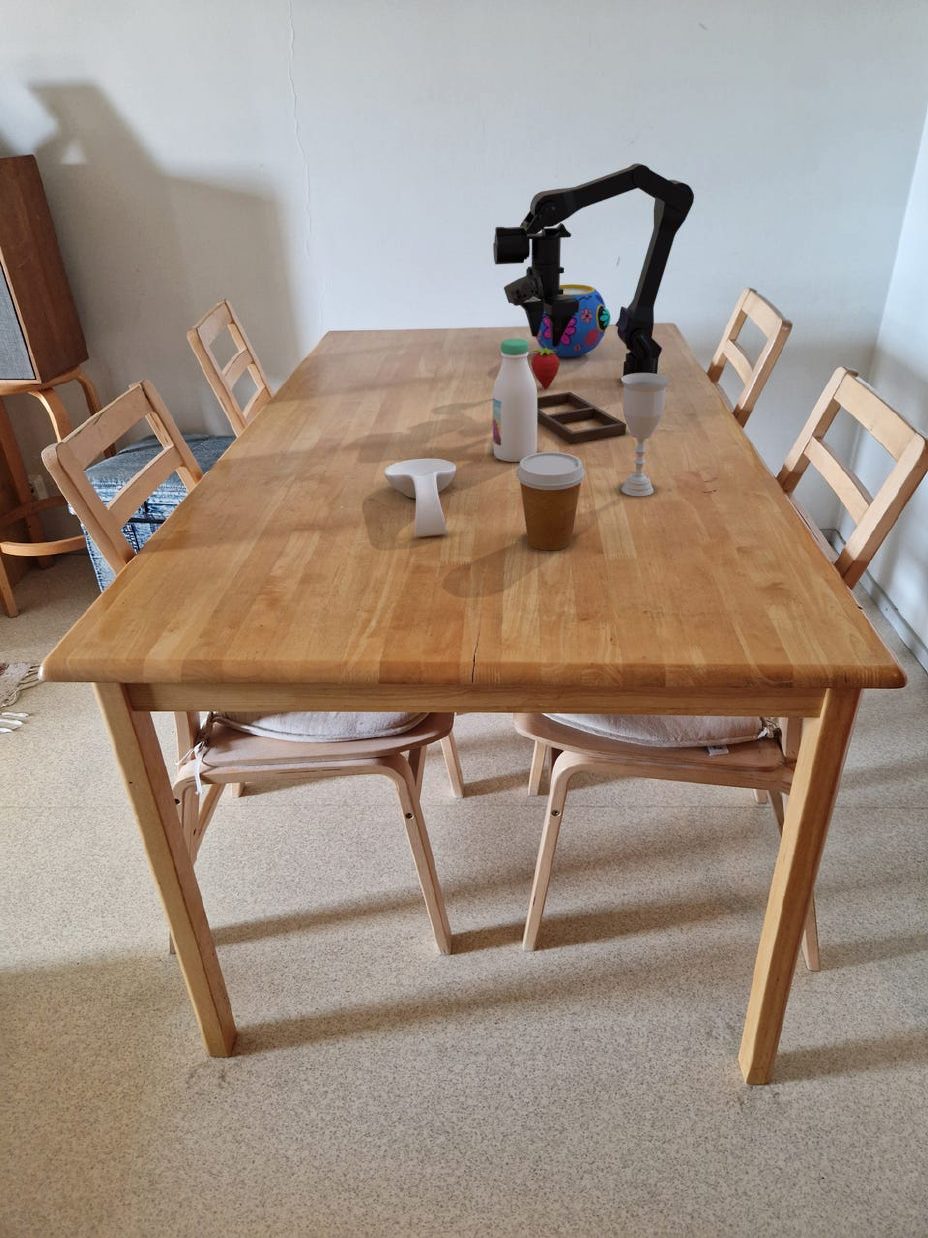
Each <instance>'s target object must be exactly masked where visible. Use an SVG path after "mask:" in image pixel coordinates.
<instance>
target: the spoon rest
mask: <svg viewBox="0 0 928 1238" xmlns="http://www.w3.org/2000/svg"><path fill="white" fill-rule="evenodd" d="M456 472H457V465H456V464H455V463H453V462H451V461H449V460H446V459H441V458H418V459H417V458H416V459H408V460H403V461H399V462H396V463H393V464H390V465H389V466H387V467H386V468H385V469H384V471H383V474H384V475H383V476H384V477H385V479H386V480H387V482H388V483H389V484H390V485H391V486H392V487H393V488H394V489H395V490H397V491H399V492H400V493H402V494H403V495H404V496H406V497H407V498H410V499H415V514H414V515H415V516H414V535H415V536H416V537H425V536H437V535H438V536H439V535H444V534H446V533H447V525H446V520H445V515H444V512H443V509H442V504H441V500H440V496H439V493H440V492H442V491H443V490H445V488H447V487H448V486H449V485H450V484H451V482H452V480H453V479H454V477H455V474H456Z"/></svg>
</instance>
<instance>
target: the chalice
mask: <svg viewBox="0 0 928 1238" xmlns="http://www.w3.org/2000/svg"><path fill="white" fill-rule="evenodd" d="M620 379H621V380H620V381H621V383H622V386H623V403H622V412H623V416H624V420H625V424H626V426H627V428H628V429H629V432H630V434H631V436H632V438H634V439H636V440H637V445H636V448H635V449H634V451H635V453H636V457H635V459H634V460H633V463H634V465H635V470H634V471H633V473H631V474H630V475H629V476H627V478H626V481H625V482H624V485H623V486H622V487H621V492H622V493H623V494H625V495H628V496H632V497H646V496H650V495H652V494H653V493H654V488H653V486H652V483H651V478H649V476H648V475H647V474H645V473H644V472H643V466H644V465H645V463H646V460H645V459H644V455H645V452H646V451H647V450H646V448H645V441H646V439H649V438H651V437H652V435H653V434H654V432H655V430H656V429H657V428H658V425H660V423H661V422H660V421H661V419H662V417H663V415H664V413H665V401H666V391H667V390H666V389H667V387H668V385H669V383H670V382H671V379H670V378H669V377H668V376H666V375H663V374H658V373H657V374H653V373H634V374H628V375H625V376H623V375H622V376H621V377H620Z"/></svg>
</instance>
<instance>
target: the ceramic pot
mask: <svg viewBox="0 0 928 1238" xmlns="http://www.w3.org/2000/svg"><path fill="white" fill-rule="evenodd" d="M560 288H561V289H564V290H563V295H570V296H572V297H575V298H576V299H577V300H578V301H579V302H580V305H579V312H578V313H576V315H575V316H573V317H572V319H571V321H570V322H569V324H568V326H567V328H566V330H565V332H564V334H563V336H562V338H561V340H560V342H559V344H558V346H556V347H553V346H552V342H551V333H550V322H549V320H548V319H547V318H546V317H545V316H544V314H545V310H544V314H543V318H542V322H541V326H540V330H539V333H538V336H536V337H535V340H536V341H537V343H538V345H539V346H540V348H542V350H543V349H545V348H547V349H549V350H556V351H553V352H555V353H553V354H555V355H556V356H557V357H561V358H575V357H579V356H583V355H585V354H588V353H590V352H592V351H593V350H595V349H596V348H597V347H598V345H599V344H600V342H601V341H602V339H603V338H604V336H605V334H606V333H605V332H606V329H607V328H608V327H609V325H610V322H611V313H610V311H609V309H607V307H606V303H605V301H604V299H603V297H602V295H601V293H600V292H599V291H598V290H597V289H596V288H595V287H593V286H591V285H585V284H574V283H573V284H572V283H571V284H569V283H568V284H560ZM558 296H561V295H558ZM542 342H543V343H544V344H545V345H546V346H545V345H544V344H543V343H542Z"/></svg>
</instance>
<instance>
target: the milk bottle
mask: <svg viewBox="0 0 928 1238" xmlns="http://www.w3.org/2000/svg"><path fill="white" fill-rule="evenodd" d="M529 346H530V345H529V341H528V340H527V339H523V338H508V339H505V340H502V341H501V343H500V351H501V353H500V355H501V357H502V359H501V360H502V361H501V366H500V369H499V372H498V374H497V376H496V378H495V381H494V385H493V390H492V437H493V438H492V439H493V441H492V442H493V444H492V445H493V454H494V457H495V458H496V459H498V460H500V461H503V462H510V463H520V462H521V460H522V459H523V458H525V457H526V456H529V455H532V454H536V453H538V422H537V409H538V408H537V397H538V391H537V390H538V389H537V383H536V380H535V377H534V375H533V372H532V371H531V369H530V366H529V362H528V355H529V348H530V347H529Z"/></svg>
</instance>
